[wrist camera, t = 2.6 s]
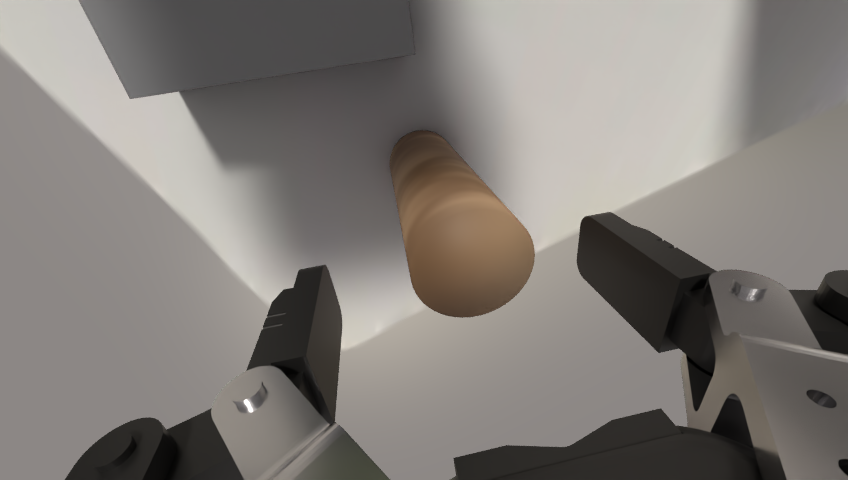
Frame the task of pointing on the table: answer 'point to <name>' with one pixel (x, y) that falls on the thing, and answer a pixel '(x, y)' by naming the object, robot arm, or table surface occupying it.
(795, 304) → the robot arm
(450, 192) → the peg
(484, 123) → the table surface
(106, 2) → the socket base
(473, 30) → the table surface
